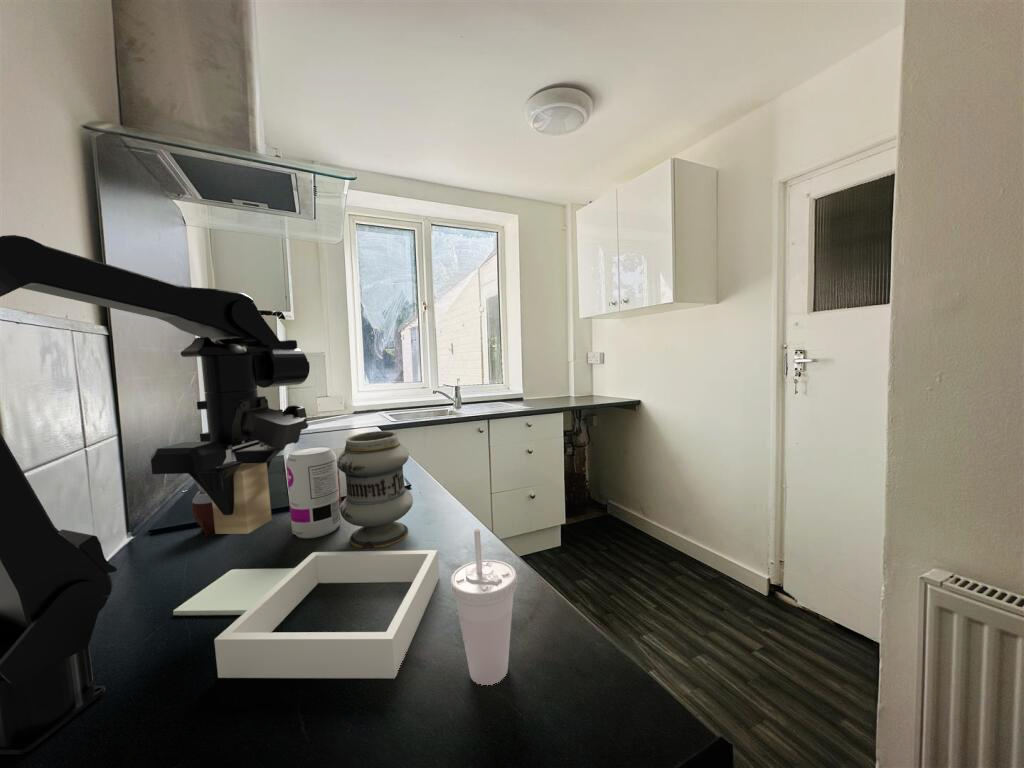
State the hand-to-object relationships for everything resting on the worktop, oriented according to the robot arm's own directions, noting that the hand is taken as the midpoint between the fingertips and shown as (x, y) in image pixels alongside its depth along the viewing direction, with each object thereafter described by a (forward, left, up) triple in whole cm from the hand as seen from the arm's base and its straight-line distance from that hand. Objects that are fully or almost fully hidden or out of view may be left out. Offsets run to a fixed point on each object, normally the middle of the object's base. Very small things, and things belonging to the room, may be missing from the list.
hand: (242, 507), depth 55 cm
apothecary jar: (+18, -11, -12) cm, 24 cm away
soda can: (+31, +6, -12) cm, 34 cm away
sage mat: (+1, +2, -12) cm, 12 cm away
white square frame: (-5, -16, -12) cm, 21 cm away
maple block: (0, 0, -3) cm, 3 cm away
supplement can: (+21, +2, -12) cm, 24 cm away
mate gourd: (+21, +22, -12) cm, 33 cm away
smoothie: (-13, -34, -12) cm, 39 cm away
